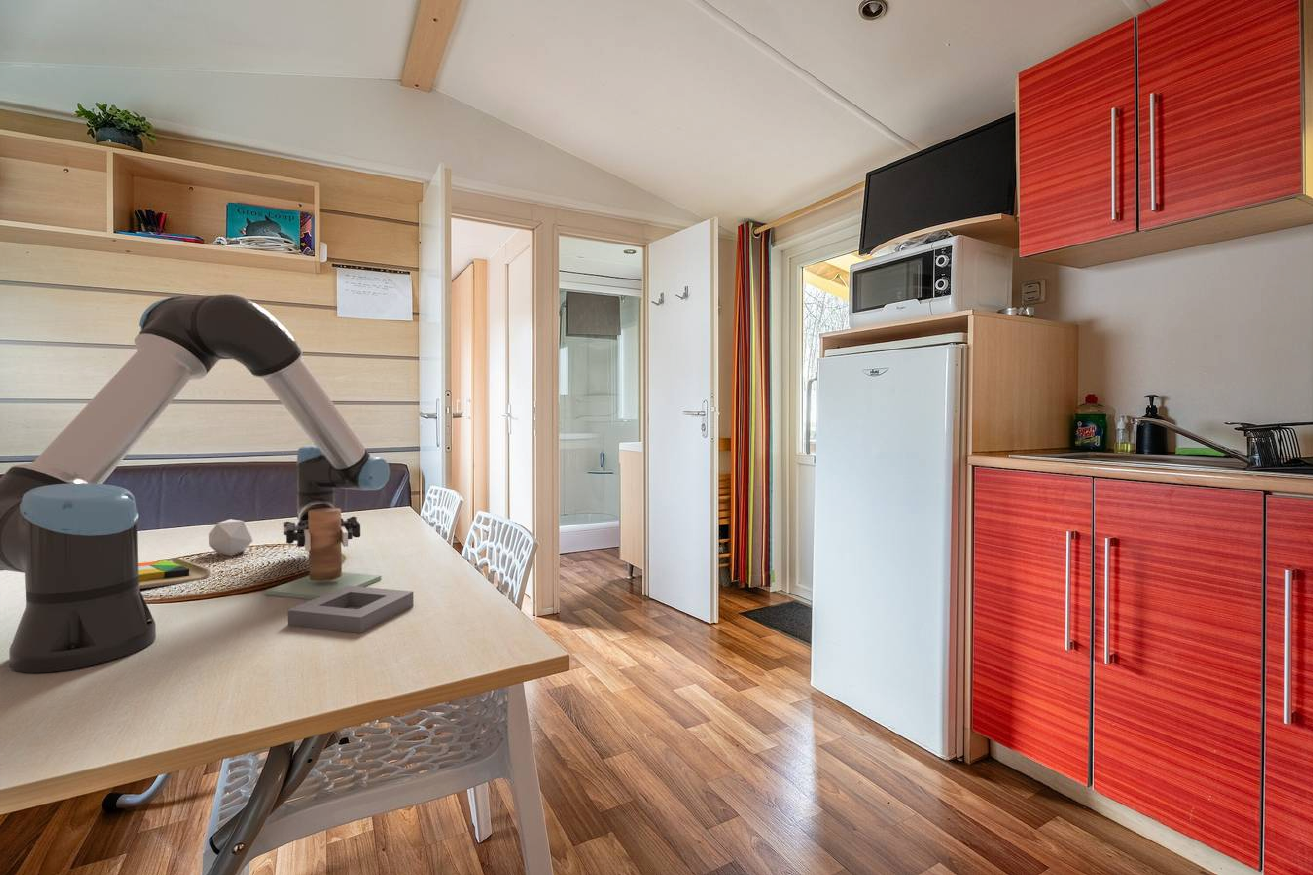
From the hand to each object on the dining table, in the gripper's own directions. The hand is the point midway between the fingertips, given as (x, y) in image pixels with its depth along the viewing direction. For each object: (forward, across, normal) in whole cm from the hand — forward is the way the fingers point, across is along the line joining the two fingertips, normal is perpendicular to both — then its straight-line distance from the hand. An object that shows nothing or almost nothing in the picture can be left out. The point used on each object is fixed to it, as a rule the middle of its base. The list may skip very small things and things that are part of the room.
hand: (327, 541), depth 112 cm
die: (-45, +17, -10) cm, 49 cm away
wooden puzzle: (-28, +31, -11) cm, 43 cm away
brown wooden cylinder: (-5, 0, -8) cm, 10 cm away
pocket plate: (+15, -3, -10) cm, 18 cm away
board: (-5, 0, -10) cm, 11 cm away
